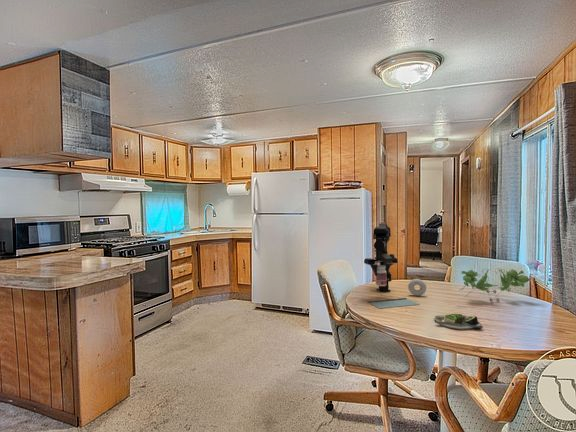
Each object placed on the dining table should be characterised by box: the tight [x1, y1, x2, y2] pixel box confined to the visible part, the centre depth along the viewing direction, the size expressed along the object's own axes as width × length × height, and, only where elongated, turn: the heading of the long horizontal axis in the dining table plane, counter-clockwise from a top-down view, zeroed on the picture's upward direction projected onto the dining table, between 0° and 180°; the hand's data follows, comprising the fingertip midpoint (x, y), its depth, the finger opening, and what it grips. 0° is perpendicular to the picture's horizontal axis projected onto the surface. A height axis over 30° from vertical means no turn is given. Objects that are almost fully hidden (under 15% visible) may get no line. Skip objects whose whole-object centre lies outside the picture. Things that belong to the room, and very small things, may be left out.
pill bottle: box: [375, 264, 387, 287], centre depth 189 cm, size 6×6×11 cm
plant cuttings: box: [460, 268, 531, 304], centre depth 181 cm, size 35×17×22 cm
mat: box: [369, 298, 420, 310], centre depth 176 cm, size 10×24×1 cm, turn 105°
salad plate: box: [433, 313, 484, 331], centre depth 145 cm, size 19×18×5 cm
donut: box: [407, 278, 427, 297], centre depth 192 cm, size 10×4×10 cm, turn 70°
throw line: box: [367, 297, 408, 304], centre depth 183 cm, size 2×24×1 cm, turn 105°
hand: (380, 275), depth 189 cm, fingers closed on pill bottle, 6 cm apart
